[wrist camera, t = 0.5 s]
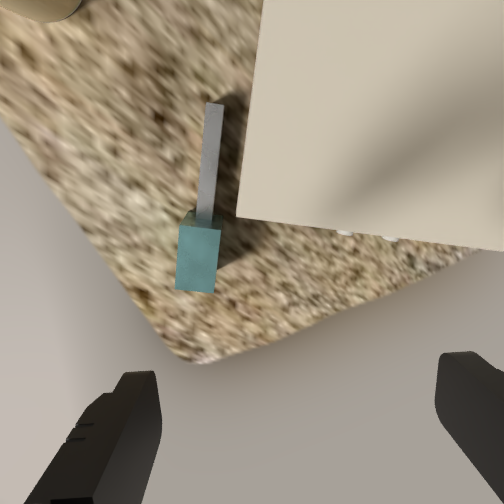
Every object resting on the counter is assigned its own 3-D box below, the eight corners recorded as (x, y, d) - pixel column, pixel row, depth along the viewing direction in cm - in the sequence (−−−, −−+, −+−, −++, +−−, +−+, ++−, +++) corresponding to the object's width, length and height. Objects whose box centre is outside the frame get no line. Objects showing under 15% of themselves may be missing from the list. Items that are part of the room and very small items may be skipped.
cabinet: (255, 14, 27) (286, -169, 11) (443, 50, 29) (714, -64, 13) (234, 188, 32) (233, 238, 16) (397, 210, 33) (549, 278, 17)
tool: (197, 103, 29) (189, 95, 24) (235, 109, 30) (235, 103, 24) (183, 266, 34) (174, 289, 29) (216, 270, 35) (213, 293, 29)
